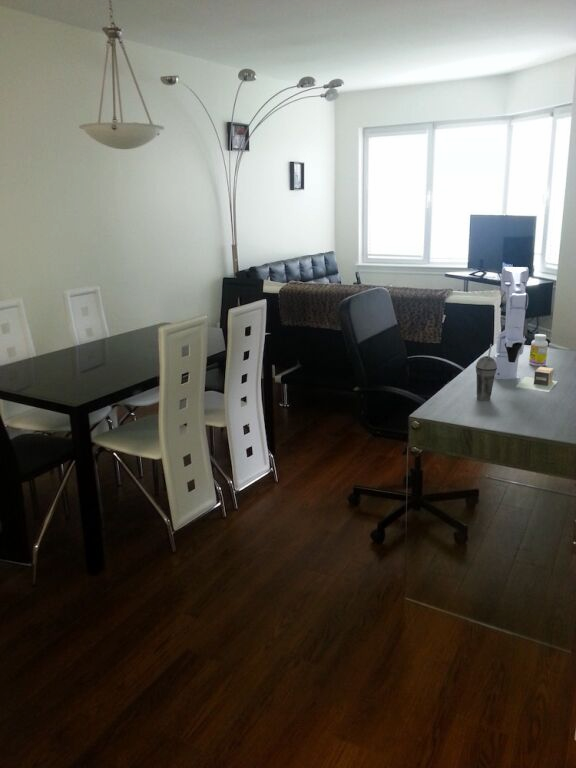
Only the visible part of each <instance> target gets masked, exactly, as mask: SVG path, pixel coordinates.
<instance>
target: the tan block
mask: <svg viewBox="0 0 576 768" xmlns="http://www.w3.org/2000/svg"><path fill="white" fill-rule="evenodd" d="M553 373H554V368H552V367H545V366H538V368H536V370H535V371H534V377H533V378H534V384H537V385H544V386H548V385H549V384H550V382H551V381H552V380H553Z"/></svg>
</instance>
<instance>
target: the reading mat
mask: <svg viewBox="0 0 576 768" xmlns="http://www.w3.org/2000/svg"><path fill="white" fill-rule="evenodd" d="M557 383H558V381H557V380H553V379H552V381H551V382H550V384H549V385H548V386H544V385H537V384H534V377H531V376H524V378H522V379H521V381H519V382H518V383H517V384H516V386H515V388H517V389H518V388H519V389H525V390H531V391H540V392H544V393H549V392H551V391H552V389H553V388H554V386H555V385H556V384H557Z"/></svg>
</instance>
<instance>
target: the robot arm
mask: <svg viewBox="0 0 576 768" xmlns="http://www.w3.org/2000/svg"><path fill="white" fill-rule="evenodd" d="M529 272H530V270H529V268H528V267H527V266H525V267H524V266H521V267H519V266H516V267H515V266H503V267H502V269H501V277H500V287H501V290H502V291H504V292H505V296H506V304H505V305H506V306H505V308H506V309H505V325H504V330H503V331H501V332H500V333H498V335H497V339H496V347H495V348H496V349H495V351H496V353H497V354H494V355H493V356H492V358H493V359H494V360H495V362H496V364H497V370H496V373H495V377H494V380H520V379H521V378H520V377H519V376H518V368H519V367H518V366H519V358H520V356H521V355H523V353H524V346H525V345H524V344H525V342H526V341H527V338H524V327H525V318H526V317H525V316H526V310H527V309H528V305H529V294H528V293H527V292H526V288H527V284H528V281H529V274H530V273H529Z"/></svg>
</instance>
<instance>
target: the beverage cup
mask: <svg viewBox="0 0 576 768" xmlns="http://www.w3.org/2000/svg"><path fill="white" fill-rule="evenodd" d="M492 346H493V344H492V343H490V345H489V350H488V355H486V356H481V358H479V359H478V361H477V362H476V363H475V373H476V399H477V400H479V401H485V402H488V401H490V400H491V396H492V394H493V393H492V391H493V387H494V381H495V378H494V377H495V373H496V370H497V364H496V362H495V360H494V359H493V356H492V357H491V351H492Z"/></svg>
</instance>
